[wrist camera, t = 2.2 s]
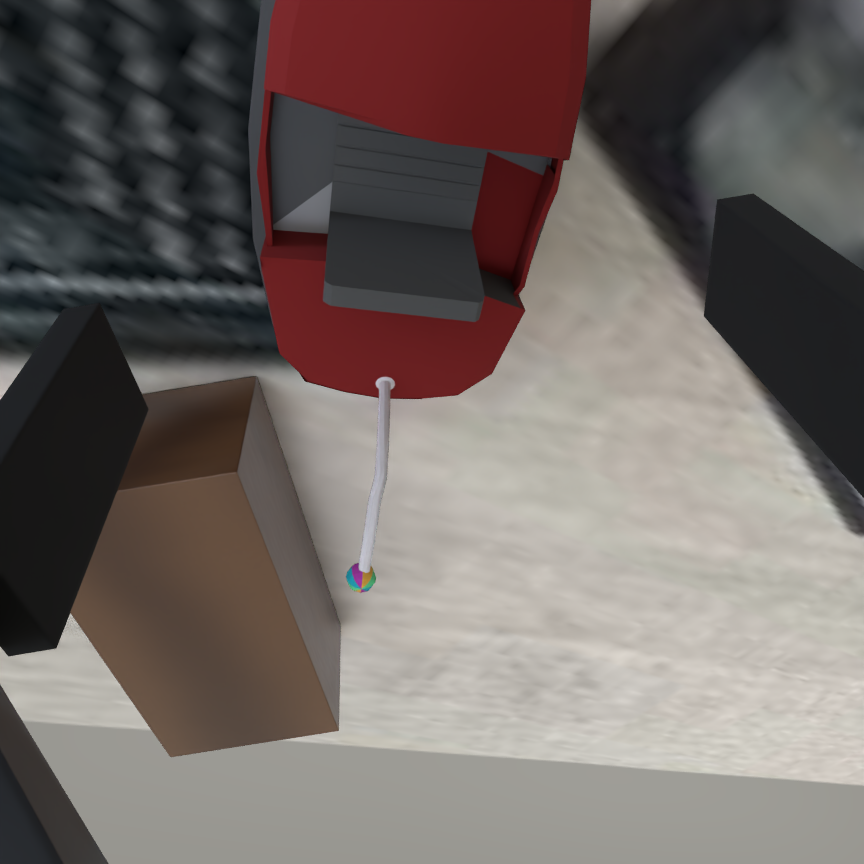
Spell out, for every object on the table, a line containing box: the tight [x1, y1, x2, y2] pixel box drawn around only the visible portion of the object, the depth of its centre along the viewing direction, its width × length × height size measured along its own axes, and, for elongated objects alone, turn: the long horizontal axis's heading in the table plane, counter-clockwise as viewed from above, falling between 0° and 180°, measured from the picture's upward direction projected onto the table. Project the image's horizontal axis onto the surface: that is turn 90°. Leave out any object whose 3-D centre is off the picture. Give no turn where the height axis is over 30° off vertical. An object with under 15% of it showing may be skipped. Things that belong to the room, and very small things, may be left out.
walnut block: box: [70, 376, 341, 757], centre depth 30 cm, size 8×16×6 cm, turn 8°
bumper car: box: [248, 0, 591, 593], centre depth 20 cm, size 10×20×10 cm, turn 170°
